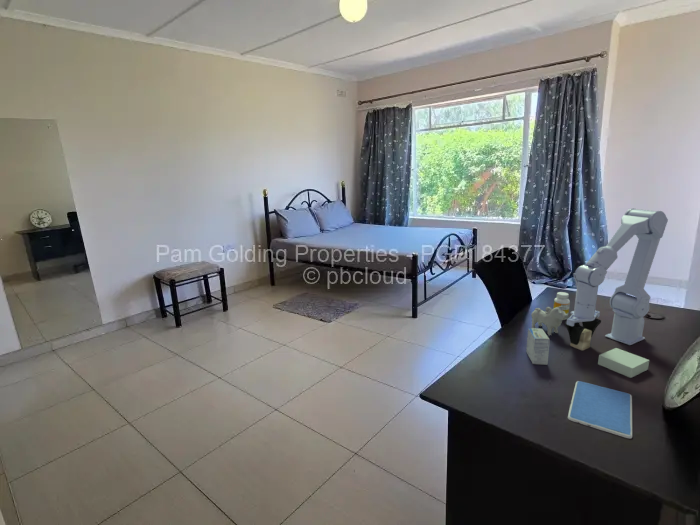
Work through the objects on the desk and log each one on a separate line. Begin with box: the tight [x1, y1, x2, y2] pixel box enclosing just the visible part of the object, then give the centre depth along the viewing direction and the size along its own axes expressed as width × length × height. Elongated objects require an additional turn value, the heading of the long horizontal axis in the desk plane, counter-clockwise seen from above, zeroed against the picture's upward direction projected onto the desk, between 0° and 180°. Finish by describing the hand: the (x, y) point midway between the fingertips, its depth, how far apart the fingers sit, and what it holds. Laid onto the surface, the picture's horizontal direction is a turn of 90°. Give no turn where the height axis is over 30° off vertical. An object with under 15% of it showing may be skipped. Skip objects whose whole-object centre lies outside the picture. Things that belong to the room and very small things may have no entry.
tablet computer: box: [567, 380, 633, 439], centre depth 94 cm, size 19×13×1 cm, turn 144°
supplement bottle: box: [552, 291, 571, 315], centre depth 148 cm, size 5×5×10 cm
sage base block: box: [597, 347, 650, 379], centre depth 111 cm, size 9×9×3 cm
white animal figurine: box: [530, 306, 569, 336], centre depth 135 cm, size 5×13×11 cm, turn 28°
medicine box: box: [525, 327, 551, 366], centre depth 117 cm, size 8×4×9 cm, turn 168°
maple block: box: [569, 329, 592, 351], centre depth 124 cm, size 4×4×6 cm
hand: (580, 341), depth 124 cm, fingers open, 6 cm apart
